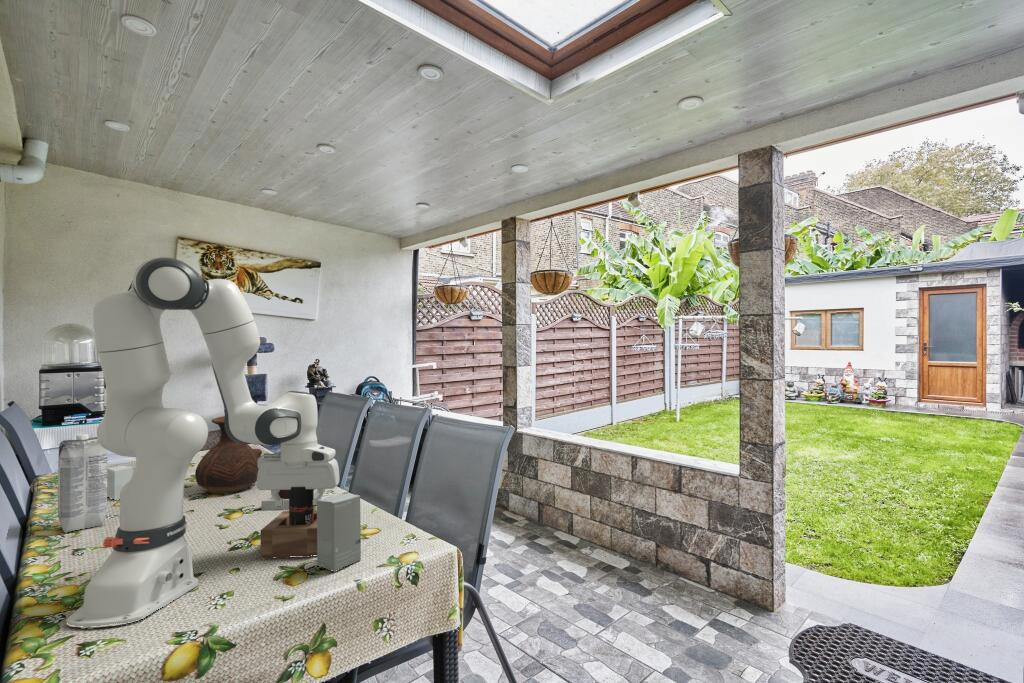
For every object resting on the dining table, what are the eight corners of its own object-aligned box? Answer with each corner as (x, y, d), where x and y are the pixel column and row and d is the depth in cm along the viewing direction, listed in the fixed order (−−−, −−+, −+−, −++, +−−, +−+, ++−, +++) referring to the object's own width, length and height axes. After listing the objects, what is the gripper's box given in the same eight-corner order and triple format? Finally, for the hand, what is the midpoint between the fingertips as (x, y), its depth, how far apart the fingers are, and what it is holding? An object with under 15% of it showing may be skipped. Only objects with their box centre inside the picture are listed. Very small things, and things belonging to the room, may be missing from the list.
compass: (302, 500, 164) (302, 479, 164) (293, 508, 156) (293, 486, 156) (278, 501, 164) (278, 480, 164) (267, 509, 156) (267, 486, 156)
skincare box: (334, 573, 109) (333, 504, 110) (314, 566, 113) (314, 499, 114) (363, 559, 117) (363, 494, 117) (343, 553, 120) (343, 490, 121)
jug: (242, 498, 168) (242, 412, 168) (181, 498, 168) (181, 412, 169) (273, 481, 190) (273, 405, 190) (219, 481, 190) (219, 405, 190)
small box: (133, 497, 171) (133, 467, 171) (114, 501, 166) (114, 470, 166) (124, 493, 175) (124, 464, 175) (105, 497, 170) (105, 468, 170)
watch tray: (307, 508, 155) (307, 499, 155) (261, 510, 154) (261, 501, 154) (322, 495, 170) (322, 486, 170) (280, 496, 169) (280, 488, 169)
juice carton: (108, 525, 142) (108, 434, 143) (59, 535, 134) (60, 439, 135) (103, 518, 148) (104, 431, 149) (57, 528, 140) (57, 435, 141)
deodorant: (304, 547, 122) (304, 488, 122) (284, 545, 123) (283, 486, 124) (318, 538, 128) (318, 481, 128) (298, 536, 129) (298, 480, 130)
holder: (318, 556, 119) (318, 528, 119) (260, 558, 118) (260, 530, 118) (335, 534, 133) (335, 509, 133) (283, 536, 132) (283, 511, 132)
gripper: (252, 455, 122) (251, 510, 121) (334, 454, 123) (333, 508, 123) (263, 451, 128) (262, 503, 127) (341, 449, 130) (340, 501, 129)
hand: (298, 506), depth 125 cm, fingers open, 8 cm apart
